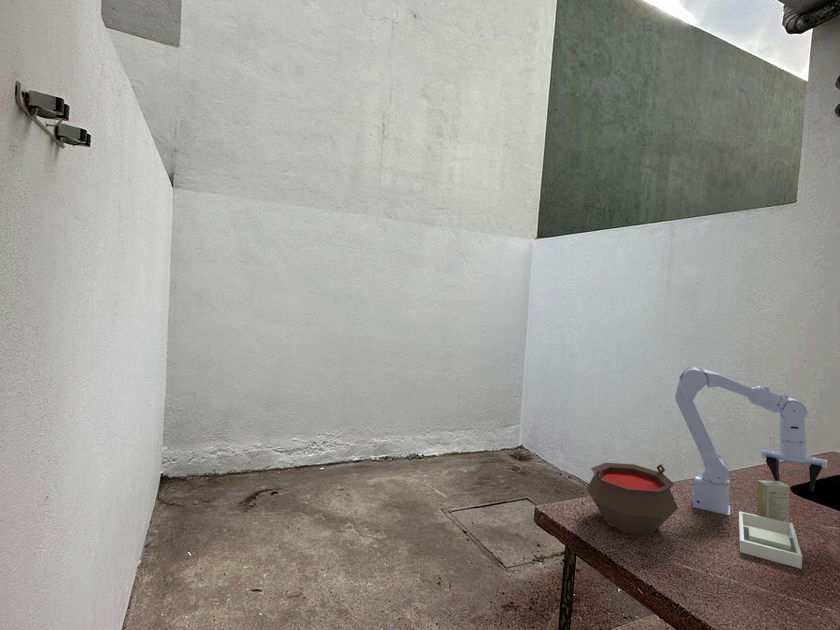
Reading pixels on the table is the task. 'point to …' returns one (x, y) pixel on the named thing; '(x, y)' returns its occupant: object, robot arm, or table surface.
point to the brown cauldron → (632, 496)
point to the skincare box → (773, 500)
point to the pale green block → (769, 538)
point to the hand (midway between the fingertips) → (794, 487)
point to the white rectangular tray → (769, 552)
